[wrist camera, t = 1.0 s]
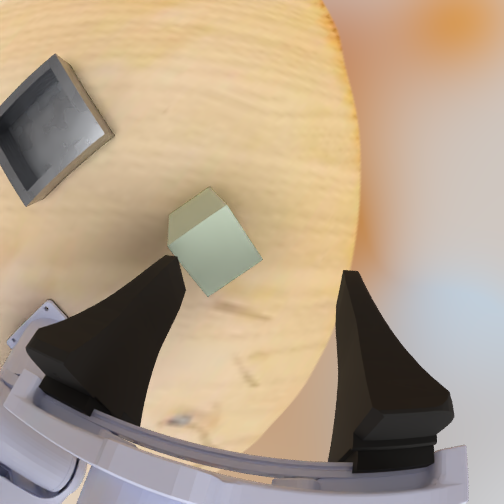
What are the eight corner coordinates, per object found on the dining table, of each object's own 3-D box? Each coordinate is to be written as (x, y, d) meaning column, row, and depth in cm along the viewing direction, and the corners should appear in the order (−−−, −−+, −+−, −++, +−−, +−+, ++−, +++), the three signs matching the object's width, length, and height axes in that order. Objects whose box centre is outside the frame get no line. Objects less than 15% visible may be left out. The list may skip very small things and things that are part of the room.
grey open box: (43, 198, 19) (26, 207, 16) (2, 128, 16) (-19, 128, 13) (114, 135, 20) (104, 133, 17) (69, 64, 16) (55, 53, 13)
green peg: (196, 252, 25) (207, 297, 17) (168, 214, 23) (167, 246, 16) (235, 225, 25) (262, 259, 18) (209, 186, 23) (226, 204, 16)
